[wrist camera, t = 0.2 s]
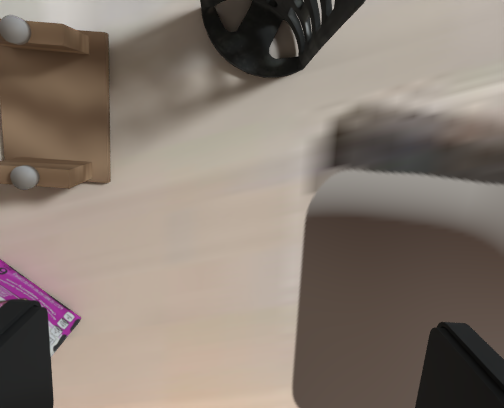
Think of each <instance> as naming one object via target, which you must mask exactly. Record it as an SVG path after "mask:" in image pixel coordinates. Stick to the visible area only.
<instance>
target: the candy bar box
mask: <svg viewBox="0 0 504 408" xmlns="http://www.w3.org/2000/svg"><path fill="white" fill-rule="evenodd" d="M11 299H19V300H37V301H39V302H40V304H41V307H45V308H46V309H47V312H48V324H49V339H50V355H51V356H52V355H53V354H54V353H55V351H56V350H57V349H58V348H59V346H60V345H61V344H62V343H63V341H64V340H65V339H66V338H67V337H68V335H69V334H70V333H71V332H72V330H73V329H74V328H75V327H76V325H77V324H78V323H79V321H80V320H81V317H80V316H78V315H77V314H75V313H74V312H73V311H71V310H70V309H68V308H67V307H66V306H64V305H63V304H61V303H60V302H59V301H57V300H56V299H54V298H53V297H52V296H50V295H49V294H47V293H46V292H45V291H43V290H42V289H41V288H39V287H38V286H36V285H35V284H34V283H32V282H31V281H29V280H28V279H27V278H25V277H24V276H23V275H21V274H20V273H18V272H17V271H16V270H14V269H13V268H12V267H10V266H9V265H7V264H6V263H5V262H3V261H2V260H1V259H0V307H2V306H3V305H4V304H5V303H7V302H8V301H9V300H11Z"/></svg>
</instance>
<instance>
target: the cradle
mask: <svg viewBox="0 0 504 408" xmlns="http://www.w3.org/2000/svg"><path fill="white" fill-rule="evenodd" d="M0 106H1V119H2V132H3V144H4V157H5V160H3V161H0V184H12V185H14V186H15V187H17V188H19V189H22V190H27V189H30V188H33V187H35V186H41V187H56V188H71V187H74V186H76V185H78V184H80V183H82V182H85V181H88V182H102V183H108V182H110V113H109V41H108V34H107V33H105V32H92V31H80V30H75V29H73V28H71V27H68V26H66V25H64V24H57V23H45V22H33V21H25V20H23V19H21V18H19V17H16V16H13V15H7V16H5V17H3V18H2V19H0Z"/></svg>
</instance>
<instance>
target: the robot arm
mask: <svg viewBox="0 0 504 408" xmlns="http://www.w3.org/2000/svg"><path fill="white" fill-rule="evenodd" d="M0 408H53V386H52V370H51V355H50V339H49V324H48V312H47V309H46V308H45V307H41V304H40V302H39V301H37V300H19V299H11V300H9V301H8V302H7V303H5V304H4V305H3V306H2V307H0ZM415 408H504V359H503V358H502V357H501V356H499V355H498V354H497V353H496V352H495V351H494V350H493V349H492V348H491V347H490V346H489V345H488V344H487V343H486V342H485V341H484V340H483V339H482V338H481V337H480V336H479V335H478V334H477V333H476V332H475V331H474V330H473V329H472V328H471V327H470V326H469V325H467V324H465V323H450V322H441V323H439V324H438V326H437V328H433V329H432V330H431V332H430V335H429V340H428V345H427V350H426V355H425V360H424V366H423V371H422V376H421V381H420V386H419V391H418V396H417V401H416V407H415Z"/></svg>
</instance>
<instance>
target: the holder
mask: <svg viewBox="0 0 504 408" xmlns="http://www.w3.org/2000/svg"><path fill="white" fill-rule="evenodd" d="M223 1H226V0H200V2H201V11H202V17H203V21H204V25H205V28H206V30H207V33H208V35H209V38H210V39H211V41H212V43H213V45H214V46H215V48H216V49H217V51H218V52H219V53H220V54H221V55H222V56H223V57H224V58H225V59H226V60H227V61H228V62H229V63H231V64H232V65H233V66H235V67H237V68H239V69H240V70H242V71H244V72H246V73H248V74H252V75H256V76H260V77H282V76H286V75H291V74H293V73H296V72H298V71H300V70H303V69H304V68H305V66H306V65H307V64H308V63H309V62H310V60H311V59H312V58H313V57H314V56H315V54H316V53H317V52H318V51H319V50H320V49H321V48H322V46H323V45H324V44H325V43H326V42H327V41H328V40H329V39H330V38H331V37H332V36H333V35H334V34H335V33H336V31H337V30H338V29H339V28H340V27H341V26H342V25H343V24H344V23H345V22H346V21H347V20H348V19H349V18H350V17H351V16H352V15H353V14H354V13H355V12H356V11H357V10H358V8H359V7H360V6H361V5H362V4H363V3H364V2H365V0H335V5H334V9H333V11H332V3H331V0H320V3H321V10H322V22H321V23H320V14H319V8H318V3H317V0H304V2H303V0H253V1H252V5H251V7H250V9H249V11H248V12H247V14H246V16H245V18H244V20H243V22H242V23H241V25H240V26H239V29H238V30H237V31H236V32H229V31H227V30H226V29H225V28H224V26H223V24H222V22H221V20H220V18H219V16H218V14H217V12H216V9H215V7H214V6H215V5H217V4H219V3H221V2H223ZM295 12H296V13H295ZM296 14H297V15H296ZM297 16H298V17H297ZM298 18H299V19H298ZM310 18H311V24H312V31H311V24H310ZM283 20H286V21H287V23H288V24H289V25H290V27H291V28H292V30H293V32H294V35H295V37H296V40H297V44H298V49H299V56H298V57H293V58H282V59H275V58H273V57H271V55H270V54H269V47H270V45H271V43H272V41H273V38H274V36H275V34H276V32H277V30H278V28H279V26H280V24H281V21H283ZM299 20H300V21H299ZM300 22H301V24H300ZM301 25H302V27H301ZM302 28H303V30H302ZM303 32H304V34H303ZM304 38H305V39H304Z"/></svg>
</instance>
